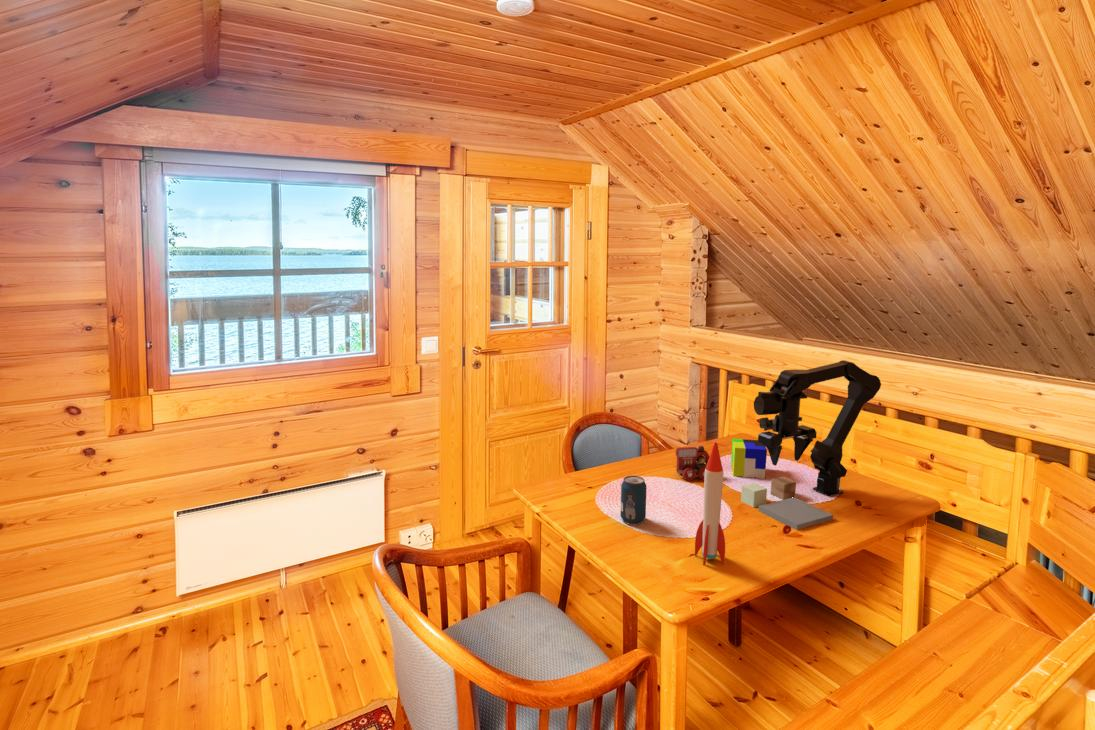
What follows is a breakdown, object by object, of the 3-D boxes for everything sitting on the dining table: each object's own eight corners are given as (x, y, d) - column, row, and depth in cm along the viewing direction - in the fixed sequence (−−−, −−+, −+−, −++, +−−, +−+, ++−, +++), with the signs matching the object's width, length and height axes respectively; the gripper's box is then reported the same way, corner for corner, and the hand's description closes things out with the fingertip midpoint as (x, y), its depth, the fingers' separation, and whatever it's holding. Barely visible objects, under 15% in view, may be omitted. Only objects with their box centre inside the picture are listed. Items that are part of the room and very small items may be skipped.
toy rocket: (694, 555, 158) (698, 439, 152) (715, 553, 159) (720, 437, 153) (703, 566, 152) (708, 446, 147) (725, 564, 153) (731, 444, 148)
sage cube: (753, 498, 193) (754, 482, 192) (765, 504, 189) (767, 488, 188) (741, 501, 191) (742, 485, 190) (753, 507, 186) (754, 491, 185)
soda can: (640, 514, 181) (642, 474, 179) (648, 524, 175) (650, 483, 172) (617, 515, 180) (618, 475, 178) (624, 526, 174) (625, 484, 171)
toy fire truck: (715, 479, 208) (717, 449, 206) (679, 481, 206) (680, 451, 204) (706, 472, 215) (708, 442, 213) (671, 474, 213) (672, 444, 211)
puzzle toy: (764, 478, 209) (766, 449, 207) (733, 476, 211) (735, 447, 209) (761, 468, 219) (763, 440, 217) (731, 466, 220) (732, 438, 219)
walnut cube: (782, 491, 198) (783, 476, 197) (795, 497, 194) (796, 481, 193) (770, 494, 196) (771, 479, 195) (783, 500, 192) (784, 484, 191)
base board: (793, 501, 190) (793, 497, 190) (832, 519, 178) (833, 514, 178) (758, 510, 184) (758, 505, 184) (796, 529, 172) (797, 524, 171)
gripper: (790, 403, 201) (787, 450, 204) (745, 410, 193) (743, 459, 196) (819, 411, 191) (815, 460, 194) (774, 419, 183) (770, 471, 186)
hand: (785, 462), depth 193 cm, fingers open, 9 cm apart
